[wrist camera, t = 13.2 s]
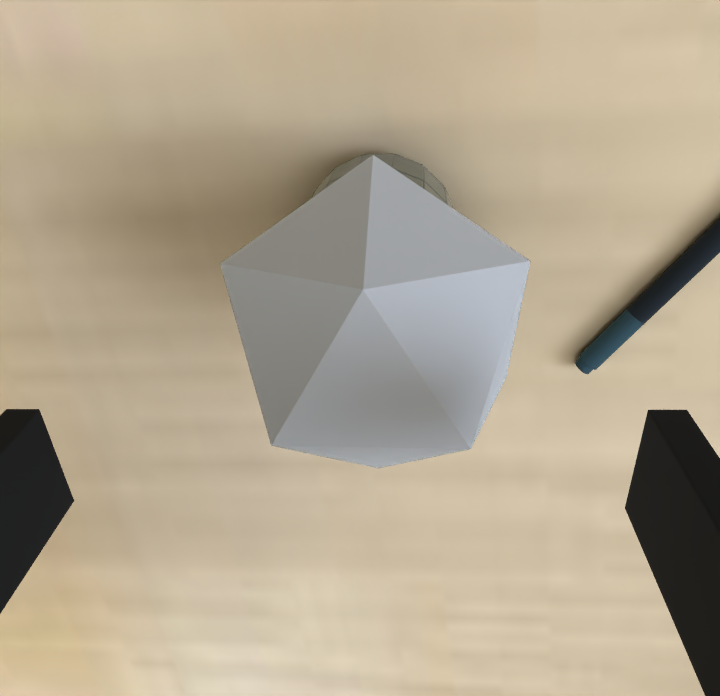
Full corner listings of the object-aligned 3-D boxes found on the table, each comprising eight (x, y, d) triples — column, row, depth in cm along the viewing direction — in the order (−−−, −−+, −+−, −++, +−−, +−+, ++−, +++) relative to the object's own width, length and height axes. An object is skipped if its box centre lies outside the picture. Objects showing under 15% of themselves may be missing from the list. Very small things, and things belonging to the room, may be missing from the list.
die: (342, 84, 20) (100, 269, 15) (615, 164, 16) (415, 445, 11) (359, 274, 26) (195, 445, 21) (555, 361, 23) (413, 591, 18)
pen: (885, 80, 23) (908, 84, 22) (586, 368, 30) (592, 381, 29) (867, 62, 22) (888, 65, 21) (569, 357, 30) (575, 370, 29)
